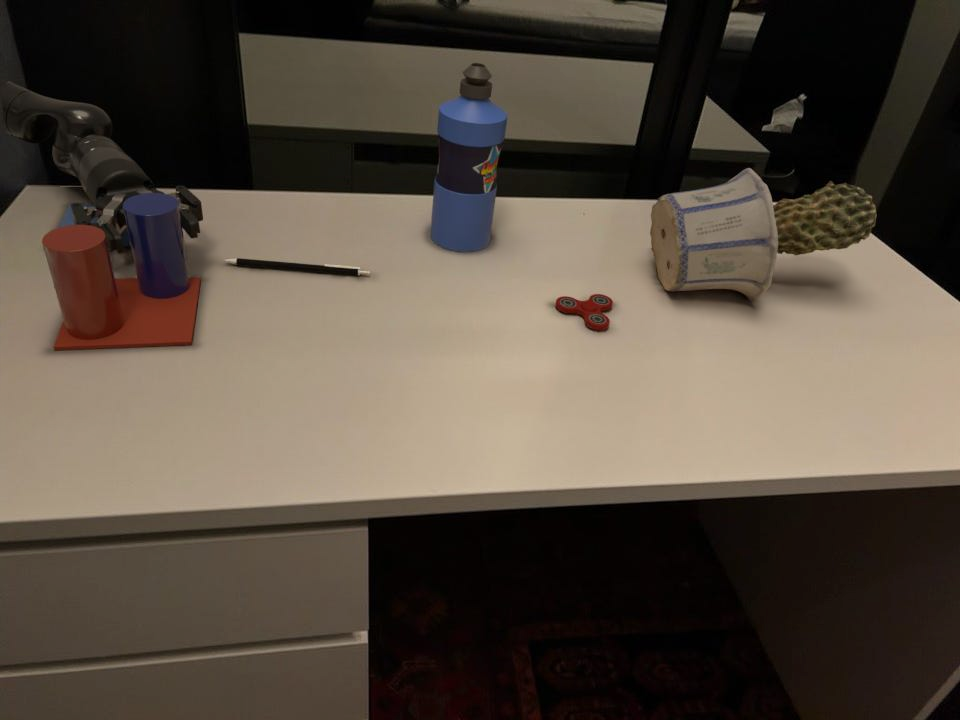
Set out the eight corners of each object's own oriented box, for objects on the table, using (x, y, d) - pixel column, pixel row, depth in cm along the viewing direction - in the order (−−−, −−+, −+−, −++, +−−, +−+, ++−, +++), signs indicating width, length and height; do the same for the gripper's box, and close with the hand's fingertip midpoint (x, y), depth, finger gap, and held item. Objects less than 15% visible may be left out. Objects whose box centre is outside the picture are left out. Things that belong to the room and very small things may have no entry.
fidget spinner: (605, 299, 101) (607, 291, 100) (628, 329, 95) (631, 321, 95) (551, 303, 99) (553, 294, 98) (572, 334, 93) (574, 326, 92)
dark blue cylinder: (135, 299, 88) (118, 215, 81) (142, 274, 92) (126, 192, 86) (188, 298, 89) (175, 215, 83) (192, 273, 94) (180, 192, 87)
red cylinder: (60, 340, 80) (35, 251, 74) (72, 310, 85) (49, 224, 78) (119, 338, 82) (100, 251, 75) (127, 309, 86) (109, 224, 80)
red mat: (54, 350, 80) (53, 346, 79) (79, 282, 90) (79, 279, 90) (192, 345, 83) (191, 341, 83) (201, 280, 94) (200, 276, 93)
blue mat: (51, 247, 96) (50, 243, 96) (70, 206, 105) (69, 203, 105) (150, 246, 99) (149, 243, 99) (160, 206, 108) (160, 203, 108)
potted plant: (683, 219, 90) (924, 176, 90) (640, 167, 104) (847, 130, 105) (680, 337, 100) (896, 298, 100) (641, 274, 115) (830, 240, 115)
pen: (369, 277, 98) (369, 270, 98) (223, 265, 97) (222, 257, 96) (370, 273, 99) (370, 266, 98) (225, 261, 98) (224, 254, 97)
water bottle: (417, 238, 109) (428, 63, 94) (449, 217, 116) (465, 50, 101) (471, 258, 106) (492, 81, 91) (501, 235, 113) (525, 66, 98)
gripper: (175, 201, 103) (220, 253, 93) (63, 221, 95) (99, 279, 86) (167, 149, 98) (213, 198, 89) (49, 165, 91) (86, 221, 81)
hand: (157, 238), depth 87 cm, fingers open, 8 cm apart
